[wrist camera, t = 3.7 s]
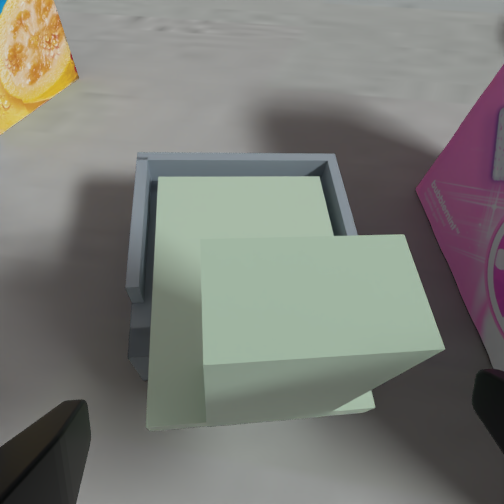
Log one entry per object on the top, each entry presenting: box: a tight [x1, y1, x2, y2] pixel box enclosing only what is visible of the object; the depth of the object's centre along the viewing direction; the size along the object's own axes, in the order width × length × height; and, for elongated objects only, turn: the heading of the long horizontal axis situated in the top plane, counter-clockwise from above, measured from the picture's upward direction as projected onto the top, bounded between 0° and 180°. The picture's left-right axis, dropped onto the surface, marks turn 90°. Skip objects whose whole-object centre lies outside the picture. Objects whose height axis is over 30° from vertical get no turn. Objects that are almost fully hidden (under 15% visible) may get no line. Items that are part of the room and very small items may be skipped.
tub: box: [125, 152, 358, 380], centre depth 19 cm, size 10×10×6 cm
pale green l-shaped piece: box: [146, 176, 445, 431], centre depth 13 cm, size 11×8×9 cm
